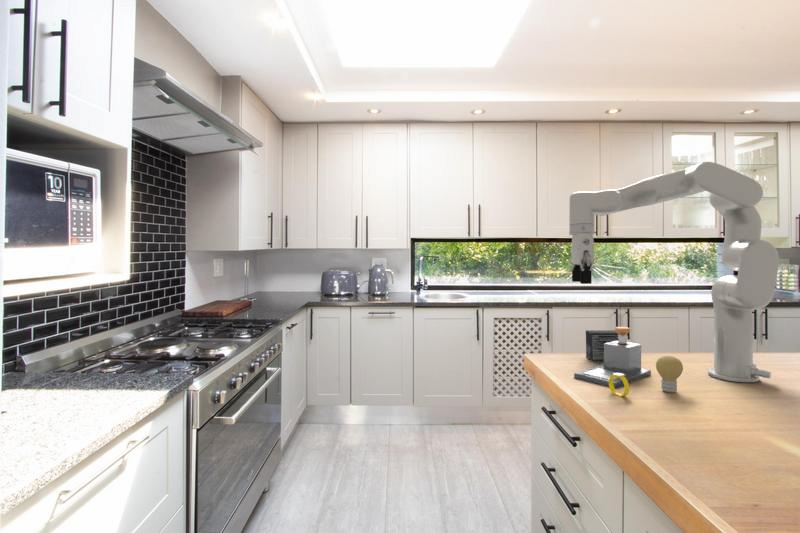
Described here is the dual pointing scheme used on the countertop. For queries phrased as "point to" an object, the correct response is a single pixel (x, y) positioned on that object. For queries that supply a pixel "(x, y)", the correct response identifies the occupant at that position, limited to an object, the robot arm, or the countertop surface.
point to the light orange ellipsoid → (622, 335)
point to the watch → (623, 382)
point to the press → (616, 365)
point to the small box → (598, 343)
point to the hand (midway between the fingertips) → (581, 282)
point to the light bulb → (669, 372)
